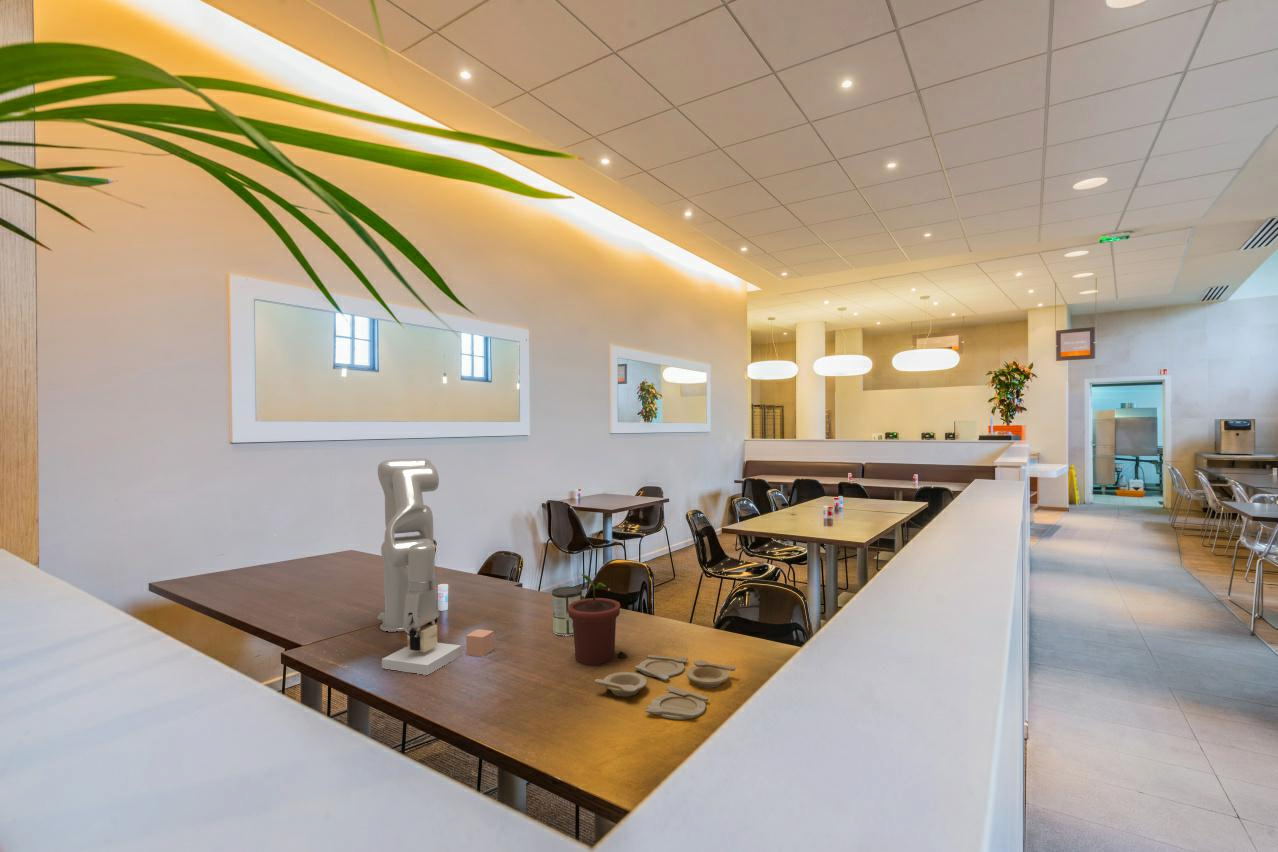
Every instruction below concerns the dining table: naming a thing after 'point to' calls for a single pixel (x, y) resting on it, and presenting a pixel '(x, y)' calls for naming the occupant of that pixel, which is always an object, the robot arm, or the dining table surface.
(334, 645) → the dining table surface
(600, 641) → the potted plant
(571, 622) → the coffee can
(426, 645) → the brass cube
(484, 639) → the terracotta cube
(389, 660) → the grey base board
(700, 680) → the tableware set
